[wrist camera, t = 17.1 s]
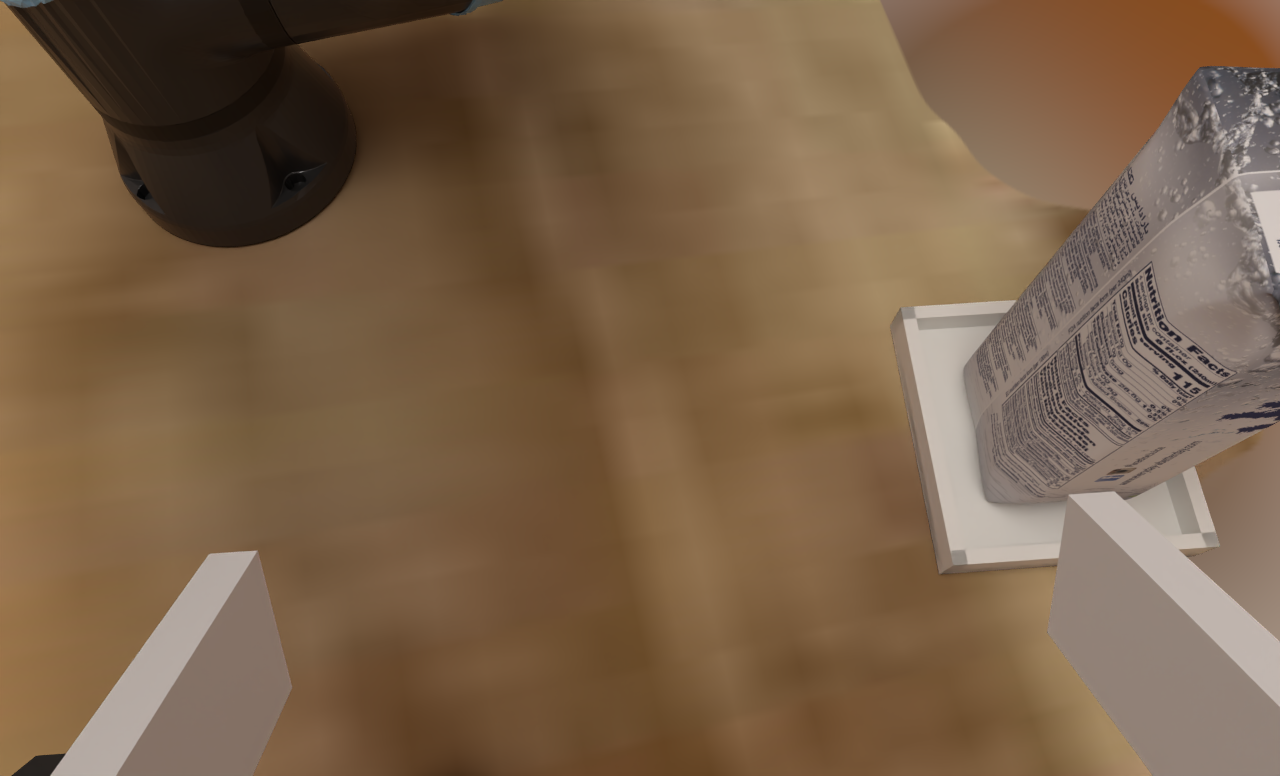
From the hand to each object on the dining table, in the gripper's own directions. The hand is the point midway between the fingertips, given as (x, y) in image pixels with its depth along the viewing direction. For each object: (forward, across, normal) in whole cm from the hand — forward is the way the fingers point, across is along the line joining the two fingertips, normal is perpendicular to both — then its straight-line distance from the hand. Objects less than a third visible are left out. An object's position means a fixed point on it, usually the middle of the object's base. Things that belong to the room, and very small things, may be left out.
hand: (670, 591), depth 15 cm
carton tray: (+35, +24, -16) cm, 45 cm away
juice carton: (+34, +24, -15) cm, 44 cm away
